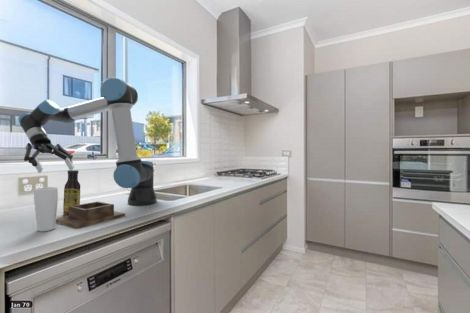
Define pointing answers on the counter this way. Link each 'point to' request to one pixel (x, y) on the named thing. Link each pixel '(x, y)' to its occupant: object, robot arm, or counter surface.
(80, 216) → the walnut bottle holder
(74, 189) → the sauce bottle
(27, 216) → the counter surface
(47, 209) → the drinking glass
